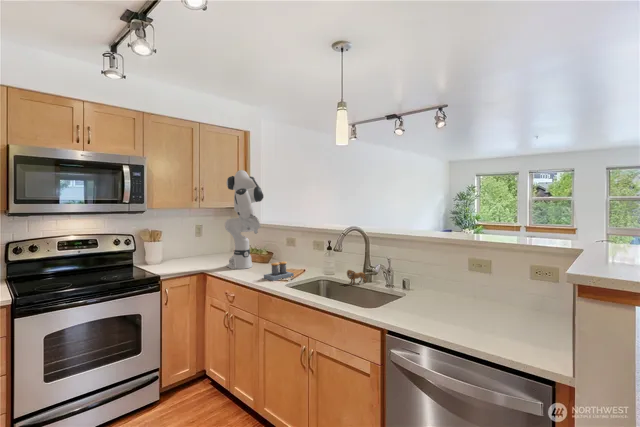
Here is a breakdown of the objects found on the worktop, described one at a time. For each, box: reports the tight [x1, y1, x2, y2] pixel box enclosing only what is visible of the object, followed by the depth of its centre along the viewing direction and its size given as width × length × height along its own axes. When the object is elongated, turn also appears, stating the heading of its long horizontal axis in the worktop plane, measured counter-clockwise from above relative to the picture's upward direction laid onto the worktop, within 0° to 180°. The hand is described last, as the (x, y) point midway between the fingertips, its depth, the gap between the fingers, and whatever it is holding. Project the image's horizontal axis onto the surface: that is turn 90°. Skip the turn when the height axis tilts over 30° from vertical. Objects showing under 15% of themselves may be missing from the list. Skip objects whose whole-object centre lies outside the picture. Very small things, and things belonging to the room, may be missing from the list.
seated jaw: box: [278, 261, 288, 274], centre depth 227 cm, size 6×6×10 cm
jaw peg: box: [270, 262, 279, 276], centre depth 222 cm, size 6×6×10 cm
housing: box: [263, 270, 295, 282], centre depth 224 cm, size 11×17×2 cm, turn 135°
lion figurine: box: [346, 269, 368, 285], centre depth 207 cm, size 15×5×9 cm, turn 114°
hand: (252, 231), depth 222 cm, fingers open, 8 cm apart
